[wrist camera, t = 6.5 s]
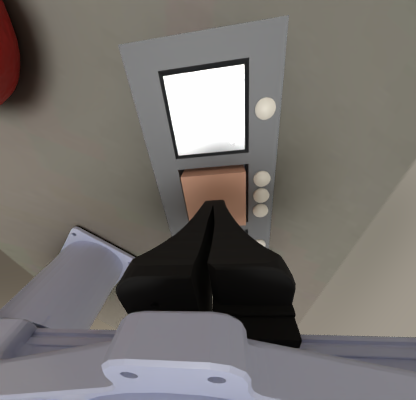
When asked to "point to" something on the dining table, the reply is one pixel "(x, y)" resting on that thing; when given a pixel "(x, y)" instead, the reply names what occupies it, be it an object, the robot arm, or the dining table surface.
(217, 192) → the button three dot
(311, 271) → the dining table surface
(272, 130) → the button panel
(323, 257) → the dining table surface
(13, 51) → the red hollow rounded sculpture
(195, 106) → the button one dot
